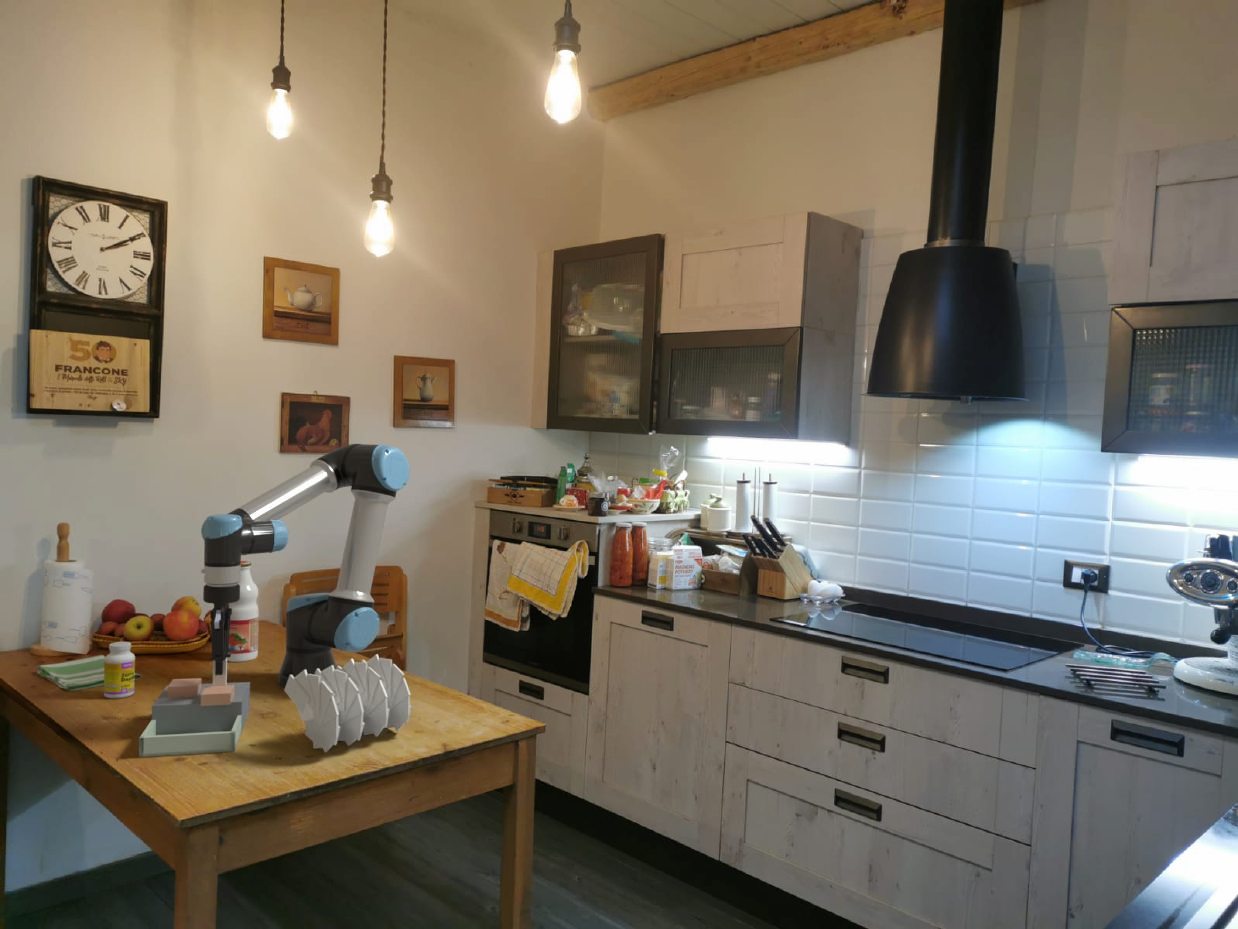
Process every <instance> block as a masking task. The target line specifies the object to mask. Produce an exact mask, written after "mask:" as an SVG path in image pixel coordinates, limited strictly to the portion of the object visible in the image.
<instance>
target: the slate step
mask: <svg viewBox="0 0 1238 929" xmlns="http://www.w3.org/2000/svg"><path fill="white" fill-rule="evenodd" d="M227 685H235V689H234V698H233V700H232V702H231V705H210V706H201V694H202V692H203V690H204V688H205V687H206V686H213V683H202V684H201V690H200V692H199V694H198V696H197V697H178V698H167V695H168V686H169V685H166V686H165V688H164V689H163V690H162V691H161V693H160V694H159V696H158V697H157V699H156V700H155V701H154V703H153V704H152V705H151V720H156V735H166V734H184V733H202V732H220V731H231V730H232V728H233V725H234V723H235V721H236V718H237V716H238V715H242V718H241V733H242V732H243V729H244V727H245V725H246V721H247V719H248V716H249V713H250V706H251V703H250V702H251V699H250V698H251V682H250V681H247V682H246V681H245V682H227Z"/></svg>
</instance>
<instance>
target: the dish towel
mask: <svg viewBox="0 0 1238 929" xmlns="http://www.w3.org/2000/svg"><path fill="white" fill-rule="evenodd" d="M105 657H106V656H105V655H103V654H99V655H94V656H88V657H84V658H79V659H74V660H68V661H64V662H58V663H51V664H42V665H38V666H37V667H36V668H37V671H36V672H35V673H36V674H38V675H39V676H41V677H43V678H45V679H47V680H49V681H50V682H51V683H53V684H55V685H57V687H59V688H61V689H64V690H65V691H70V692H73V691H79V690H84V689H90V688H91V689H92V688H96V687H100V686H101V687H102V686H104V661H105ZM139 679H142V675H141V674H140V673H138V672H135V680H139Z"/></svg>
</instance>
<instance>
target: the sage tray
mask: <svg viewBox="0 0 1238 929" xmlns="http://www.w3.org/2000/svg"><path fill="white" fill-rule="evenodd" d="M241 718H242V715H238V716H237V718H236V721H235V723H234V725H233V728H232V730H231V731H220V732H202V733H184V734H166V735H156V720H152V719H151V720H150V722H149V723H148V724H147V726H146V728H145V729H144V730H143V732H142V734H141V735H140V737H139V738H138V739H139V740H138V758H152V757H164V756H165V757H169V756H182V755H184V756H185V755H197V754H198V755H201V754H216V753H217V754H218V753H228V752H229V753H234V752H235V751H236V748H237V746H238V742H239V740H240V738H241V734H242V732H241Z"/></svg>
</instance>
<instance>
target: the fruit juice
mask: <svg viewBox="0 0 1238 929" xmlns="http://www.w3.org/2000/svg"><path fill="white" fill-rule="evenodd" d="M251 568H252V562H251V561H249V560H241V580H240V582H238V584H239V585H240V599H239V600H238V601H236V602H233V603H229V608H232V615H231V620H230V632H229V652H228V653H227V654H231V657H226V658H227V662H233V663H234V662H235V663H240V662H241V663H242V662H248V661H249V662H250V661H253V660H255V659H257V658H258V656H259V619H260V618H259V617H260V616H259V615H260V613H259V610H260V609H259V606H258V601H257V600H258V597H259V587H258V586H257V584H256V583H255V582H254V580H253V577H252V574H251Z"/></svg>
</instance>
